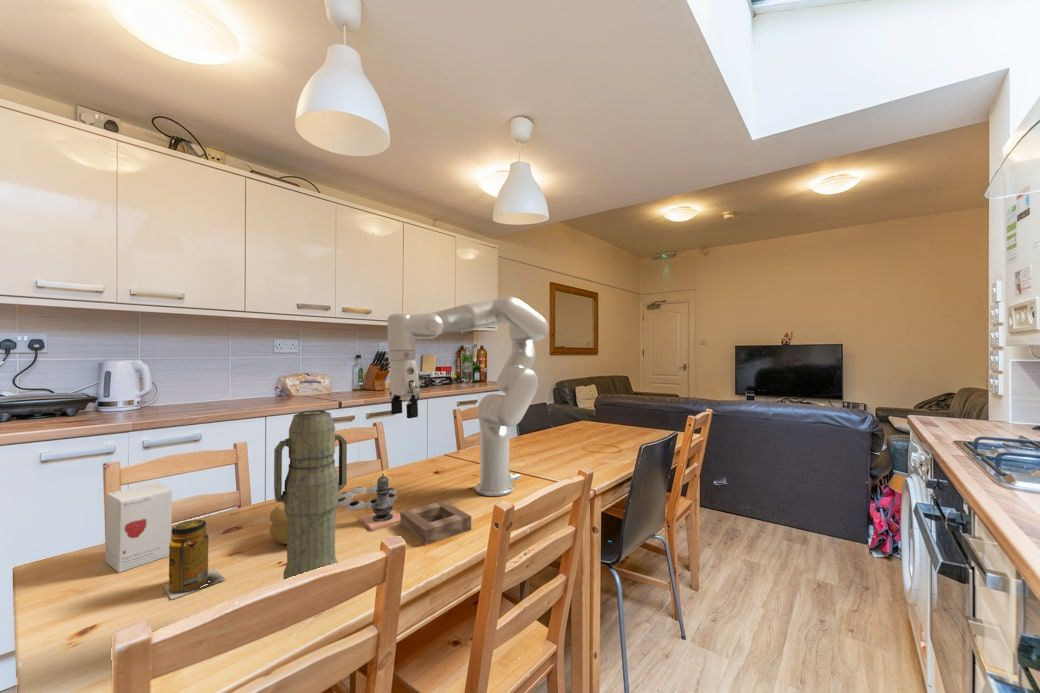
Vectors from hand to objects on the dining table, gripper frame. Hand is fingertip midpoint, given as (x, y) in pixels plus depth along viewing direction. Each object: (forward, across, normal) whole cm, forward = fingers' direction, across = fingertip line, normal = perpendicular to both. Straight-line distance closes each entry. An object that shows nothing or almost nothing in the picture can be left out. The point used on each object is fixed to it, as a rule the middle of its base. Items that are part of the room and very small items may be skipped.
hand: (404, 415), depth 119 cm
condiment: (+26, -7, +49) cm, 56 cm away
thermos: (+26, -30, +34) cm, 52 cm away
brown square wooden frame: (+27, -16, 0) cm, 32 cm away
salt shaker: (+26, -3, +9) cm, 28 cm away
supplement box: (+25, +13, +58) cm, 64 cm away
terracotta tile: (+27, -3, +9) cm, 29 cm away
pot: (+26, 0, +29) cm, 39 cm away
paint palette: (+28, +17, +6) cm, 33 cm away
